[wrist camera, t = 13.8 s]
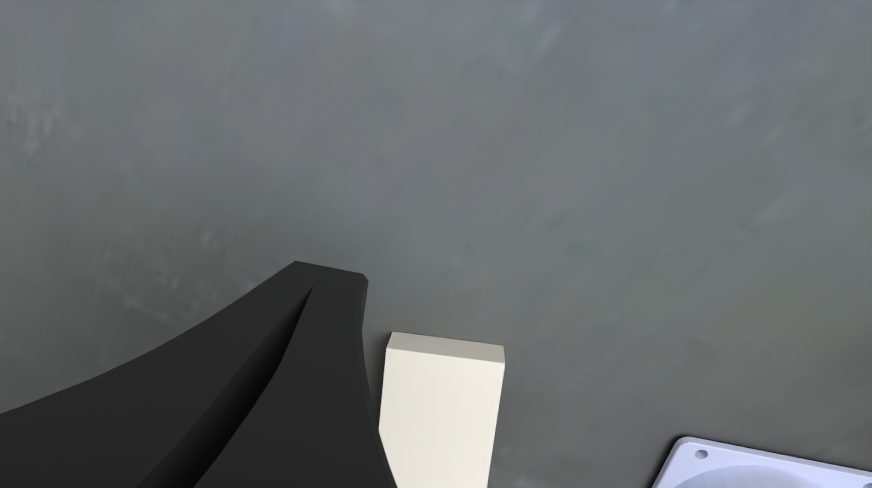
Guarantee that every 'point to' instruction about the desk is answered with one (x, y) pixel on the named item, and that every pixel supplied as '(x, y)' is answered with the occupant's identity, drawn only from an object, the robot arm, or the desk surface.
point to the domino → (440, 410)
